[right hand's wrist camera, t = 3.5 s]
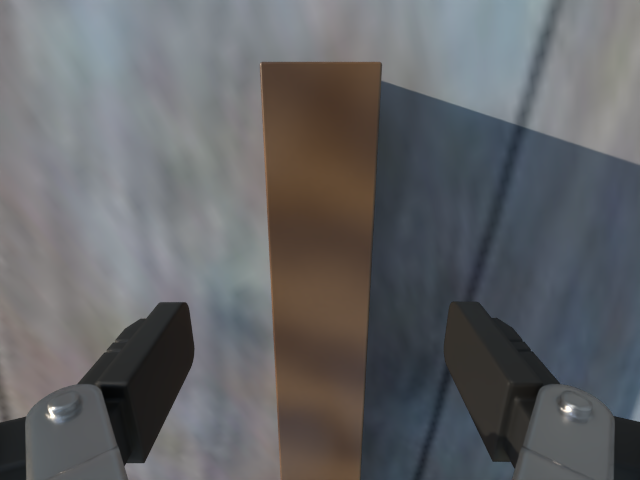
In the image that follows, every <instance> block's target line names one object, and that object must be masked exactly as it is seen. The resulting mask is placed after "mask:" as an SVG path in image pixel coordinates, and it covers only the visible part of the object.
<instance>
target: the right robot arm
mask: <svg viewBox="0 0 640 480" xmlns="http://www.w3.org/2000/svg"><path fill="white" fill-rule="evenodd" d="M444 357H445V362H446V365H447V367H448V370H449V372H450V374H451V376H452V378H453V380H454V382H455V384H456V386H457V388H458V390H459V392H460V394H461V397H462V399H463V401H464V403H465V405H466V407H467V409H468V411H469V413H470V415H471V417H472V419H473V421H474V424H475V426H476V428H477V430H478V432H479V434H480V436H481V438H482V440H483V442H484V444H485V446H486V448H487V451H488V453H489V455H490V457H491V459H492V461H493V462H511V463H512V465H513V467H514V468H515V471H514V474H513V478H512V480H640V422H637V421H633V420H629V419H624V418H620V417H615V416H613V414H612V413H611V411H610V410H609V409H608V408H607V406H606V405H604V404H603V403H602V402H601V401H600V400H598V399H597V398H596V397H594V396H592V395H591V394H589V393H587V392H585V391H583V390H580V389H578V388H575V387H572V386H568V385H563V384H560V383H559V382H558V381H557V380H556V378H555V377H554V376H553V375H552V374H551V373H550V371H549V370H548V369H547V368H546V367H545V365H544V364H543V363H542V362H541V361H540V360H539V358H538V357H537V356H536V355H535V354H534V353H533V352H531V349H530V348H529V347H528V346H527V344H526V343H525V342H522V339H521V337H520V336H519V335H518V334H517V333H516V332H515V330H514V329H513V328H512V327H510V326H509V325H507V324H506V323H504V322H502V321H501V320H499V319H498V318H491V317H490V316H489V314H488V313H487V312H486V311H485V309H484V308H483V307H482V306H481V304H480V303H479V302H452V303H451V304H450V306H449V312H448V319H447V326H446V334H445V341H444ZM193 358H194V341H193V334H192V326H191V319H190V312H189V307H188V305H187V303H185V302H161V303H159V304H158V305H157V306H156V307H155V308H154V310H153V311H152V312H151V313H150V315H149V316H148V317H147V318H146V319H140V320H138V321H136V322H135V323H133V324H132V325H130V326H129V327H127V328H125V329H124V331H123V332H122V333H121V334H120V335H119V336H118V338H117V339H116V340H115V343H112V345H111V346H110V347H109V348H108V349H107V352H106V353H104V354H103V355H102V356H101V357H100V358H99V360H98V361H97V362H96V363H95V364H94V365H93V367H92V368H91V369H90V370H89V371H88V372H87V374H86V375H85V376H84V377H83V378H82V379H81V381H80V382H79V383H78V384H77V385H72V386H68V387H65V388H62V389H60V390H57V391H55V392H53V393H51V394H49V395H48V396H46V397H44V398H43V399H42V400H40V401H39V402H38V403H37V404H36V405H34V406H33V408H32V409H31V410H30V411H29V413H28V414H27V416H26V417H23V418H18V419H14V420H10V421H5V422H1V423H0V480H128V478H127V474H126V471H125V467H124V466H125V464H126V463H145V461H146V459H147V457H148V454H149V452H150V450H151V448H152V446H153V444H154V442H155V440H156V438H157V436H158V434H159V432H160V430H161V428H162V426H163V424H164V422H165V420H166V418H167V416H168V413H169V411H170V409H171V407H172V405H173V403H174V401H175V399H176V397H177V395H178V393H179V391H180V389H181V387H182V385H183V383H184V381H185V379H186V377H187V374H188V372H189V370H190V368H191V366H192V363H193Z"/></svg>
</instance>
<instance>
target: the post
mask: <svg viewBox="0 0 640 480" xmlns="http://www.w3.org/2000/svg"><path fill="white" fill-rule="evenodd" d="M381 75H382V63H381V62H261V63H260V77H261V97H262V117H263V136H264V156H265V176H266V196H267V215H268V235H269V255H270V275H271V295H272V314H273V334H274V354H275V374H276V393H277V413H278V433H279V453H280V472H281V480H360V475H361V456H362V437H363V418H364V399H365V380H366V361H367V342H368V323H369V303H370V284H371V265H372V246H373V227H374V208H375V189H376V170H377V151H378V132H379V113H380V94H381Z"/></svg>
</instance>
